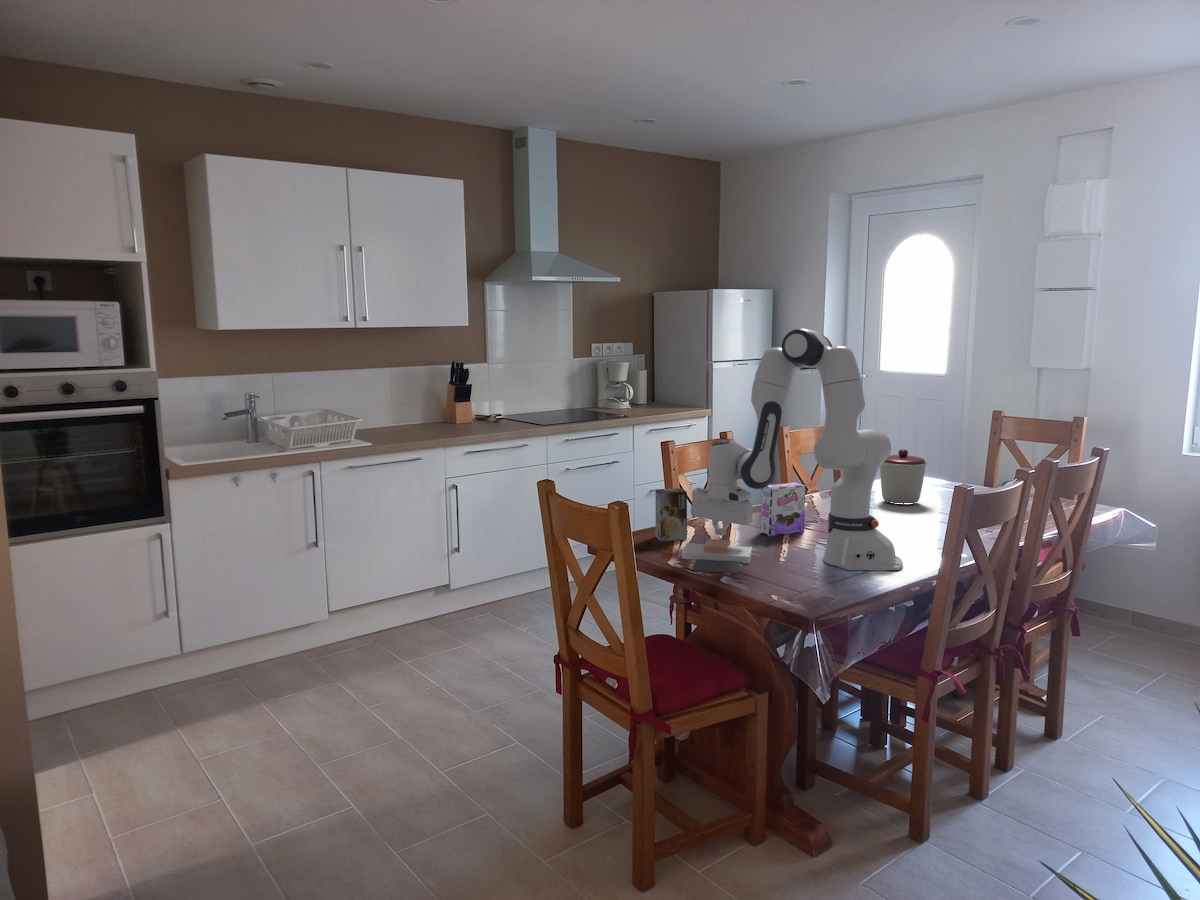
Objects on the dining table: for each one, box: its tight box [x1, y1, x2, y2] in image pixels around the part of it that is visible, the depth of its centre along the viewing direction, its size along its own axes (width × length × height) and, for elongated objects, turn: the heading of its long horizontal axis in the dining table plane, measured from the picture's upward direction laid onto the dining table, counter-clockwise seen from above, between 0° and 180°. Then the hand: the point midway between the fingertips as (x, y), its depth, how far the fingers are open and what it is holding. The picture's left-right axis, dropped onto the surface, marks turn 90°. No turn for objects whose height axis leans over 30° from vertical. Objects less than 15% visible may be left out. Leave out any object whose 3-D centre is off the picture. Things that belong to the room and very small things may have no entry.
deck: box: [681, 542, 753, 564], centre depth 258 cm, size 20×11×2 cm, turn 76°
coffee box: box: [655, 487, 688, 542], centre depth 278 cm, size 9×6×16 cm
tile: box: [704, 538, 731, 554], centre depth 258 cm, size 7×9×2 cm
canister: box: [879, 448, 929, 504], centre depth 331 cm, size 18×18×21 cm
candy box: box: [759, 482, 806, 537], centre depth 285 cm, size 14×6×16 cm, turn 112°
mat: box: [690, 559, 742, 575], centre depth 247 cm, size 13×11×1 cm
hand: (720, 534), depth 268 cm, fingers closed
